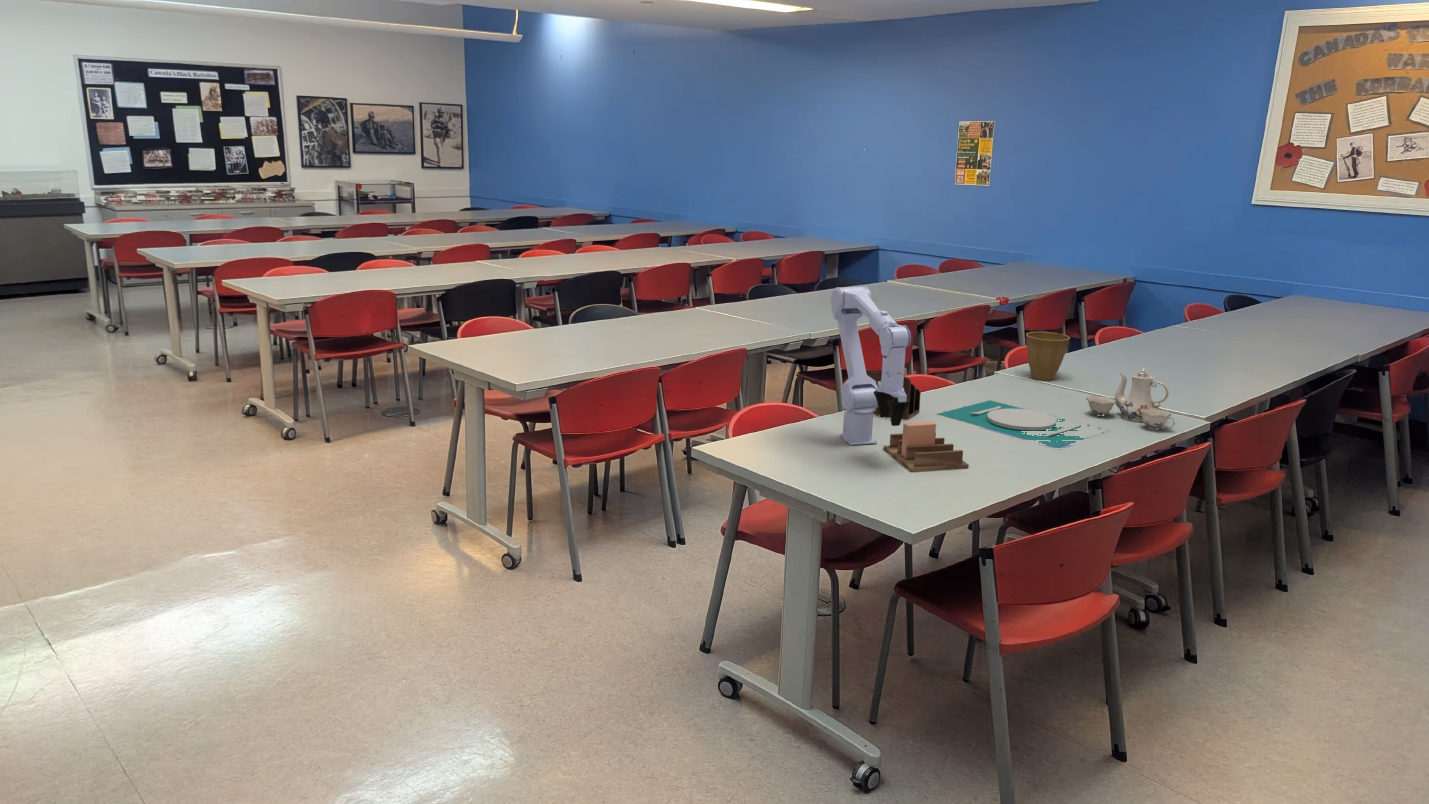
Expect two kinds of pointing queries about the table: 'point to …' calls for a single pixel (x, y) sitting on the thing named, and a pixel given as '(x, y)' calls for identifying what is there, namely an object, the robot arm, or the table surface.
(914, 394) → the letter holder
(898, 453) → the dish rack
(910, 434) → the orange-brown angular block
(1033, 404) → the table surface
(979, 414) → the place mat
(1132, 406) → the chinaware
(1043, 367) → the plant pot
